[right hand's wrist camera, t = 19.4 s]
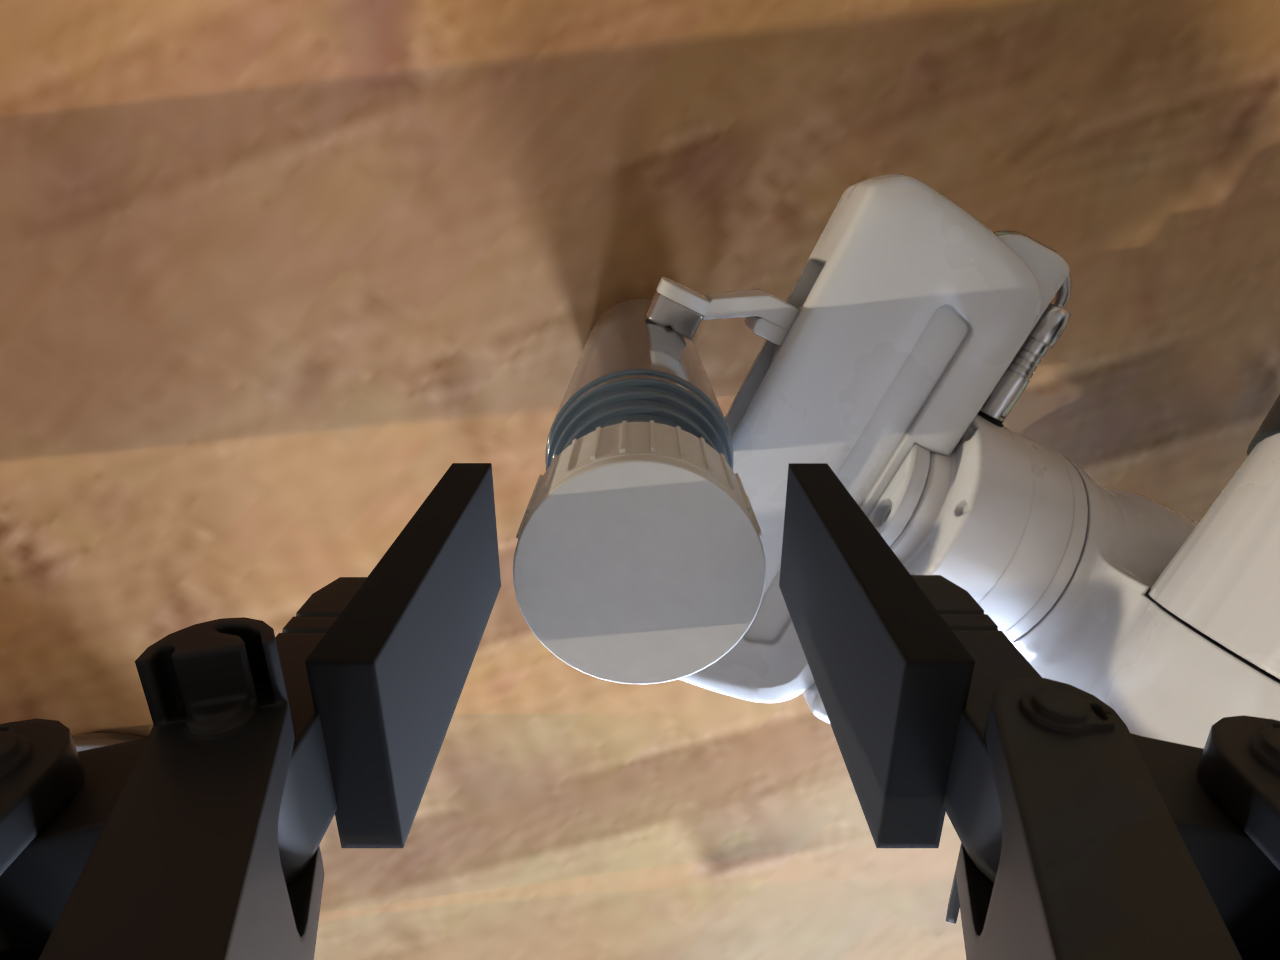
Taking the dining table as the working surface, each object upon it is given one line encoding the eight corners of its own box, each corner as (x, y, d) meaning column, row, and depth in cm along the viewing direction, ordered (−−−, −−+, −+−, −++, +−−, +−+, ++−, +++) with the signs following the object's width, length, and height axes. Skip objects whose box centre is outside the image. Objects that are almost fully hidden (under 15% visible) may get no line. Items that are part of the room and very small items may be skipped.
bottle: (650, 275, 31) (668, 380, 12) (713, 363, 32) (822, 587, 13) (565, 342, 32) (451, 539, 13) (629, 423, 33) (615, 715, 14)
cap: (717, 637, 15) (730, 707, 13) (512, 597, 15) (491, 663, 13) (777, 445, 14) (802, 488, 12) (549, 395, 13) (533, 430, 11)
